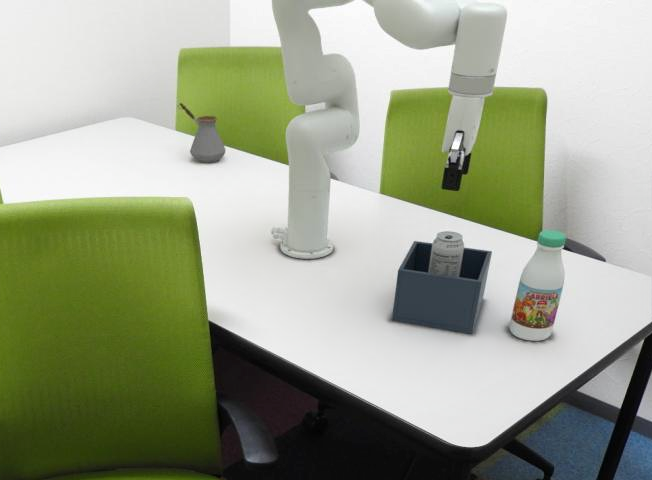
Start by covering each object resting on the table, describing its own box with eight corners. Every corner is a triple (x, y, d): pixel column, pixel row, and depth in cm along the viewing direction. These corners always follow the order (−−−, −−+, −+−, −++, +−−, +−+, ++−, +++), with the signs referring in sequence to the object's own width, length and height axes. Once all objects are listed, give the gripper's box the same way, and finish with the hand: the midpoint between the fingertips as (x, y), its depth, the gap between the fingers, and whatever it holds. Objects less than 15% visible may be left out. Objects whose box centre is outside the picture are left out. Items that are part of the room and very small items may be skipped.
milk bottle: (502, 324, 150) (523, 227, 138) (540, 321, 150) (563, 225, 139) (518, 343, 143) (541, 243, 132) (557, 340, 144) (584, 241, 132)
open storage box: (391, 320, 152) (397, 269, 146) (407, 288, 164) (414, 240, 157) (471, 334, 146) (481, 282, 140) (482, 300, 158) (492, 251, 152)
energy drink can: (457, 303, 155) (469, 233, 147) (448, 315, 151) (460, 244, 143) (429, 296, 158) (439, 228, 150) (419, 308, 154) (429, 238, 145)
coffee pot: (232, 160, 244) (232, 111, 235) (203, 167, 238) (201, 117, 230) (195, 146, 258) (194, 99, 250) (167, 152, 253) (164, 105, 244)
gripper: (457, 72, 139) (442, 165, 149) (440, 93, 126) (425, 193, 136) (500, 75, 136) (481, 170, 146) (487, 97, 123) (468, 199, 133)
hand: (454, 181), depth 141 cm, fingers open, 9 cm apart
